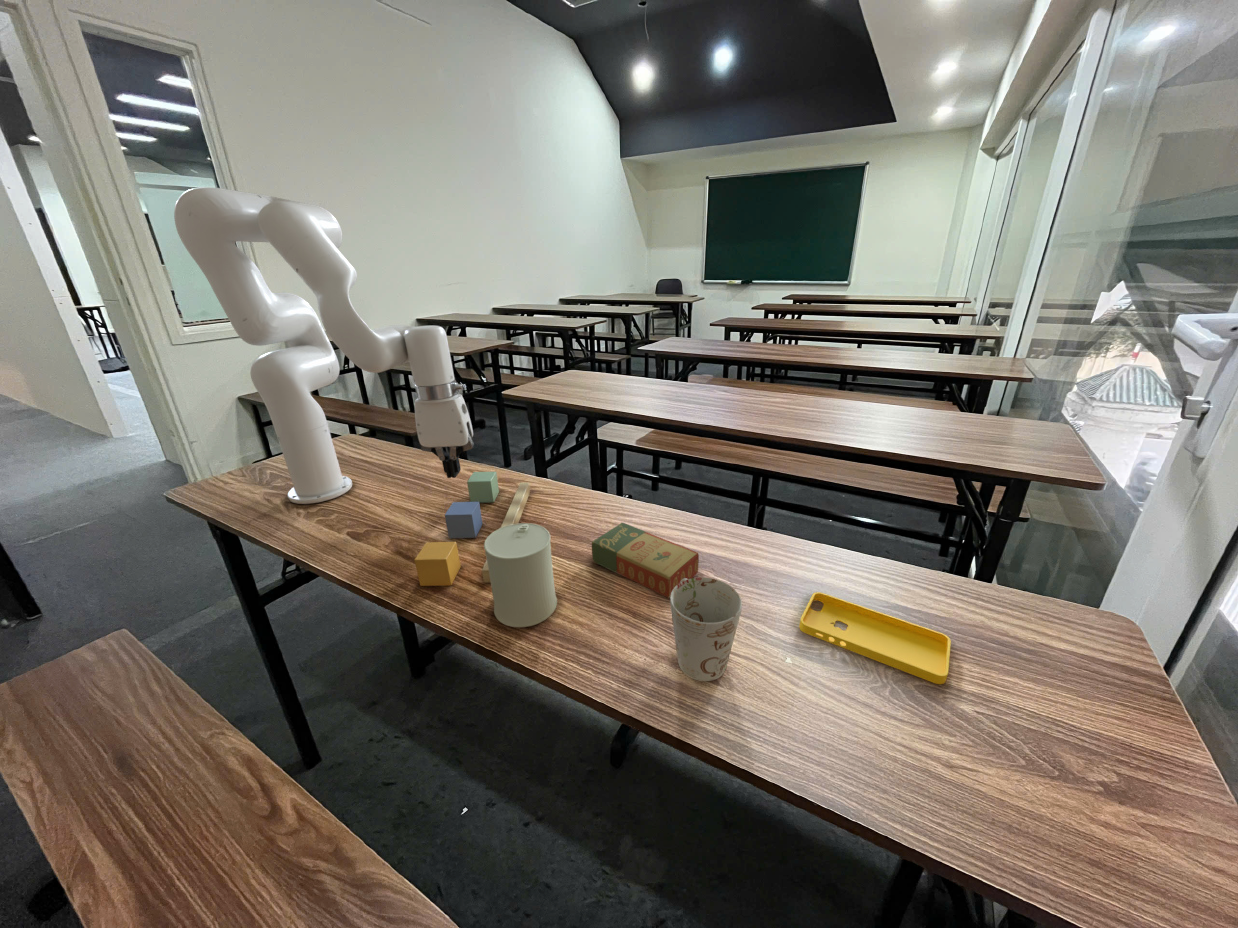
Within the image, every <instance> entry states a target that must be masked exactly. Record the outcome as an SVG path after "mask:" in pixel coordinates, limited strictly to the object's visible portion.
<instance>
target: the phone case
mask: <svg viewBox="0 0 1238 928" xmlns="http://www.w3.org/2000/svg"><path fill="white" fill-rule="evenodd" d="M815 601H816V602H820V603H821V604H823V605H822V608H821V609H820V610H814V609H813V608H812V607H811V606H812V604H813V602H815ZM836 622H841V623H842V624H845V625H846V626H847V627H846V629H842V628H840V627H838V626H835V625H836ZM798 625H799V627H798V628H799V630H800V631H801V632H802V633H804V634H806V635H808V636H811V637H814V638H817V639H819V640H822V641H824V642H826V643H829V644H832V645H834V646H837V647H839V648H842V649H844V650H847V651H850V652H853V653H855V654H857V655H860V656H863V657H865V658H868V659H871V660H873V661H876V662H879V663H881V664H884V665H886V666H889V667H891V668H894V669H896V670H899V671H902V672H905V673H907V674H910V675H912V676H915V677H917V678H920V679H923V680H925V681H927V682H930V683H933V684H934V685H935V684H936V685H944V684H945V683H946V681H947V678H948V675H949V671H950V656H951V646H952V640H951V638H950V637H949V635H946V634H945V633H943V632H940V631H937V630H934V629H931V628H928V627H925V626H922V625H919V624H916V623H913V622H910V621H907V620H904V619H901V618H898V617H896V616H893V615H890V614H887V613H884V612H881V611H878V610H875V609H872V608H868V607H866V606H863V605H860V604H857V603H854V602H851V601H849V600H845V599H842V598H839V597H836V596H834V595H830V594H827V593H825V592H820V591H816V592H815V591H814V592H813V593H812V595H811V596H810V598H809V601H808V603H807V604H806V606H805V608H804V610H803V613H802V614H801V617H800V620H799V624H798Z"/></svg>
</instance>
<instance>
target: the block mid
mask: <svg viewBox="0 0 1238 928" xmlns="http://www.w3.org/2000/svg"><path fill="white" fill-rule="evenodd" d="M444 520H445V524H446V525H445V526H446V530H447V536H448V539H476V538H477V536H478V534H479V532H480V531H481V528H482V526H483V525H484V523H483V517H482V511H481V505H480V503H479V502H470V501H453V502H452V503H451V505H450V506H449V508H448V509H447V510H446V512H445V514H444Z"/></svg>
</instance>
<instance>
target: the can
mask: <svg viewBox="0 0 1238 928" xmlns="http://www.w3.org/2000/svg"><path fill="white" fill-rule="evenodd" d="M551 538H552V537H551V533H550V532H549V530H548V529H547V528H545V527H544V526H543V525H539V524H536V523H531V522H530V523H528V522H519V523H518V524H512V525H508V526H505V527H502V528H501V527H500V528H498V529H495V530H494V531H492V532H491V533H490V534H488V536H487V537H486V538H485V540H484V542H483V548H484V549H483V550H484V553H485V557H486V560H487V564H488V569H489V575H490V581H491V583H490V587H491V593H492V599H493V614H494V617H495V618H496V619H497V621H498V622H500V623H501V624H503V625H505V626H507V627H511V628H527V627H533V626H536V625H538V624H540V623H542V622H544V621H546V620H547V619H549V618H550V617H551V616H552V615H553V613H554V612H555V611H556V608H557V605H558V597H557V595H556V587H555V580H554V579H555V578H554V569H553V557H552V547H551Z"/></svg>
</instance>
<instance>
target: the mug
mask: <svg viewBox="0 0 1238 928" xmlns="http://www.w3.org/2000/svg"><path fill="white" fill-rule="evenodd" d="M669 605H670V613H671V620H672V625H673V626H672V627H673V635H674V642H675V650H676V656H677V663H678V666H679V668H680V670H681V671H682V673H683V674H684V675H685V676H687V677H688V678H691V679H692V680H695V681H699V682H712V681H715V680H717V679H720V678H721V677H722V676H723V675H724V673H725V672H726V670H727V667H728V662H729V659H730V657H731V652H732V647H733V644H734V639H735V637H736V633H737V629H738V625H739V621H740V617H741V614H742V610H743V609H742V607H743V602H742V598H741V596H740V594H739V593H738V592H737V590H736V588H735V589H734V588H733V587H732V586H731V585H730V584H728V583H727V582H724V581H721V580H719V579H715V578H711V577H693V578H692V579H686V578H684V579H682V580H681V581H680V583H679V584H678V585H676V586H675V587H674V589H673V590H672V592H671V596H670V598H669Z"/></svg>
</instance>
